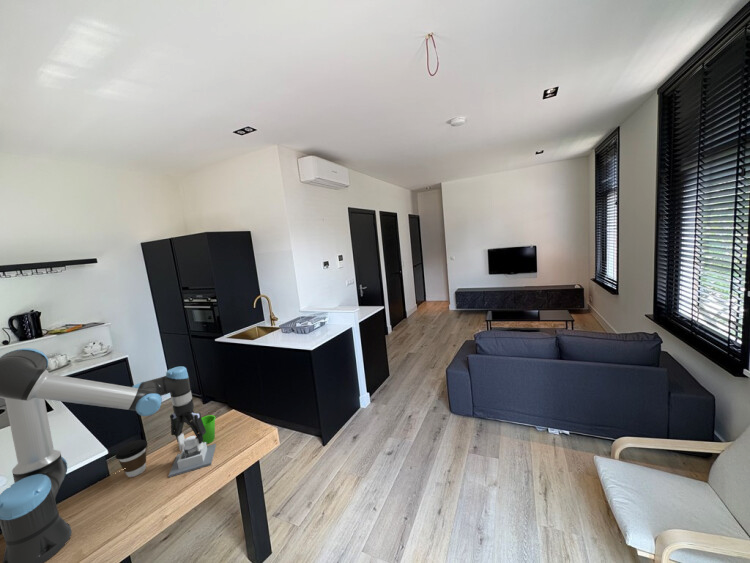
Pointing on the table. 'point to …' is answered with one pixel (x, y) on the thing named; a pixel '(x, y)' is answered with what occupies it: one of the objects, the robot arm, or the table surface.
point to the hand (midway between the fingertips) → (191, 448)
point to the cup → (209, 428)
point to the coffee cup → (133, 457)
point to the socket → (193, 460)
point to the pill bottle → (190, 447)
